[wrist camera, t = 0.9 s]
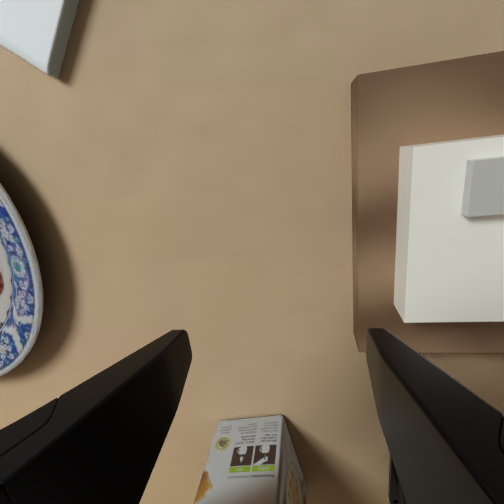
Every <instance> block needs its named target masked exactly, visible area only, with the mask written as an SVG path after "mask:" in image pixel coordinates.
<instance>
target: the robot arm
mask: <svg viewBox="0 0 504 504" xmlns="http://www.w3.org/2000/svg"><path fill="white" fill-rule="evenodd" d="M366 355H367V363H368V368H369V373H370V378H371V383H372V388H373V393H374V398H375V403H376V408H377V412H378V416H379V420H380V423H381V427H382V430H383V433H384V436H385V439H386V442H387V445H388V448H389V451H390V470H389V494H388V497H389V501H390V503H391V504H504V416H503V415H502V413H501V412H499V411H498V410H497V409H495V408H494V407H492V406H491V405H490V404H488V403H487V402H486V401H484V400H483V399H481V398H480V397H479V396H477V395H476V394H474V393H473V392H472V391H470V390H469V389H468V388H466V387H465V386H463V385H462V384H461V383H459V382H458V381H456V380H455V379H454V378H452V377H451V376H449V375H448V374H447V373H445V372H444V371H443V370H441V369H440V368H438V367H437V366H436V365H434V364H433V363H431V362H430V361H429V360H427V359H426V358H425V357H423V356H422V355H420V354H419V353H418V352H416V351H415V350H413V349H412V348H411V347H409V346H408V345H407V344H405V343H404V342H402V341H401V340H400V339H398V338H397V337H395V336H394V335H393V334H391V333H390V332H389V331H387V330H386V329H384V328H368V330H367V345H366ZM191 360H192V351H191V346H190V342H189V337H188V333H187V331H185V330H171V331H170V332H168V333H166V334H165V335H163V336H161V337H160V338H158V339H156V340H154V341H153V342H151V343H149V344H148V345H146V346H144V347H143V348H141V349H139V350H137V351H136V352H134V353H132V354H131V355H129V356H127V357H126V358H124V359H122V360H120V361H119V362H117V363H115V364H114V365H112V366H110V367H109V368H107V369H105V370H103V371H102V372H100V373H98V374H97V375H95V376H93V377H92V378H90V379H88V380H86V381H85V382H83V383H81V384H80V385H78V386H76V387H75V388H73V389H71V390H69V391H68V392H66V393H64V394H63V395H61V396H60V397H59V399H58V398H56V399H54V400H52V401H51V402H49V403H47V404H46V405H44V406H42V407H40V408H39V409H37V410H35V411H33V412H32V413H30V414H28V415H26V416H25V417H23V418H21V419H19V420H18V421H16V422H14V423H12V424H10V425H8V426H7V427H5V428H3V429H1V430H0V504H139V502H140V500H141V498H142V495H143V493H144V490H145V488H146V485H147V483H148V480H149V478H150V475H151V473H152V470H153V468H154V466H155V463H156V461H157V458H158V456H159V453H160V451H161V448H162V446H163V443H164V441H165V438H166V436H167V434H168V431H169V429H170V426H171V424H172V421H173V419H174V416H175V414H176V411H177V408H178V405H179V402H180V399H181V395H182V392H183V388H184V385H185V381H186V378H187V375H188V371H189V368H190V364H191ZM502 417H503V418H502Z"/></svg>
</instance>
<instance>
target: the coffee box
mask: <svg viewBox="0 0 504 504" xmlns="http://www.w3.org/2000/svg"><path fill="white" fill-rule="evenodd" d="M194 504H306V483H305V480H304V476H303V473H302V470H301V467H300V464H299V462H298V458H297V455H296V452H295V449H294V446H293V443H292V440H291V437H290V434H289V432H288V429H287V426H286V422H285V420H284V417H283V416H282V415H276V416H266V417H255V418H245V419H235V420H224V421H220V422H219V423H218V425H217V428H216V431H215V435H214V438H213V441H212V445H211V448H210V451H209V454H208V458H207V461H206V464H205V468H204V471H203V474H202V478H201V481H200V485H199V488H198V491H197V494H196V498H195V501H194Z"/></svg>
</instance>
